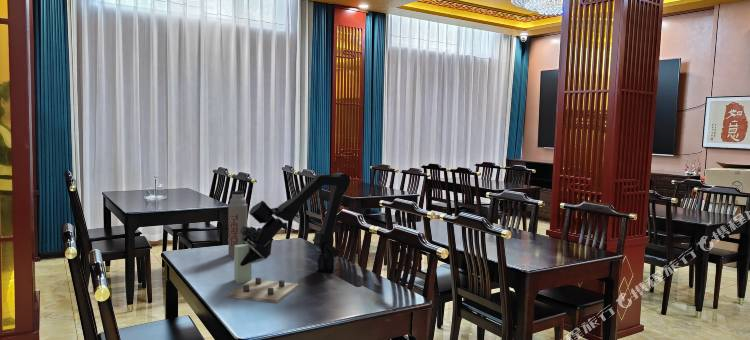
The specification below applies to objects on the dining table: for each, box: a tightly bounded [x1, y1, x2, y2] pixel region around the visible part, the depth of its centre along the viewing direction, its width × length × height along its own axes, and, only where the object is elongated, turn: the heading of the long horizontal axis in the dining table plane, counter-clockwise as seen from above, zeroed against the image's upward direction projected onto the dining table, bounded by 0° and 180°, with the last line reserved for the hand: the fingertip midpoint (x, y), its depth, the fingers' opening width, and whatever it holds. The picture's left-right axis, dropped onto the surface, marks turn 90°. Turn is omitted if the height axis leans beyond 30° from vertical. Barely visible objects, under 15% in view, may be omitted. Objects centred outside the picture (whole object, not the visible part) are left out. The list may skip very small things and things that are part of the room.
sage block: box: [233, 244, 252, 284], centre depth 194 cm, size 5×5×13 cm
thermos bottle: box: [227, 190, 248, 258], centre depth 231 cm, size 8×8×28 cm
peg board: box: [227, 277, 299, 304], centre depth 183 cm, size 18×18×3 cm
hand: (238, 263), depth 194 cm, fingers closed on sage block, 5 cm apart
